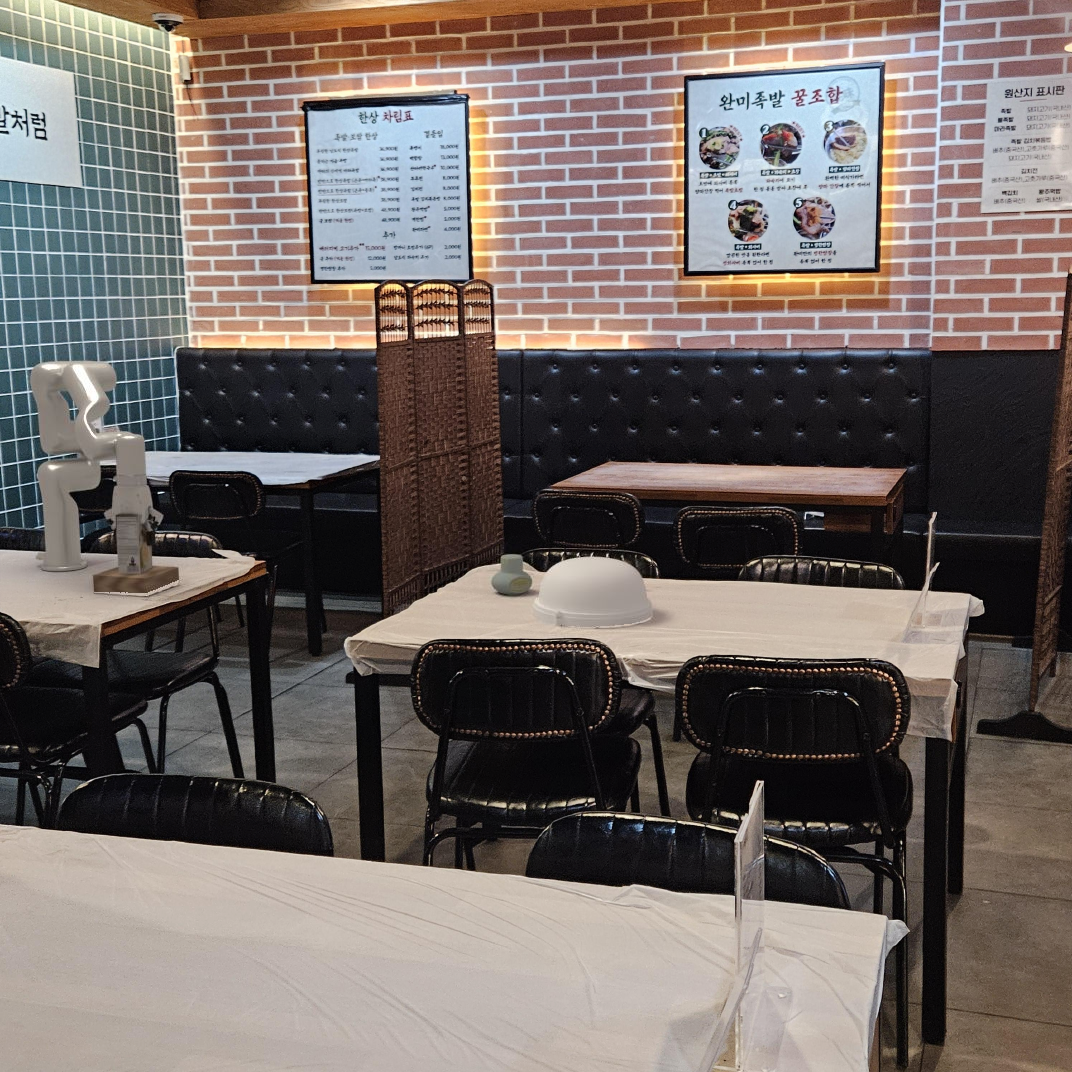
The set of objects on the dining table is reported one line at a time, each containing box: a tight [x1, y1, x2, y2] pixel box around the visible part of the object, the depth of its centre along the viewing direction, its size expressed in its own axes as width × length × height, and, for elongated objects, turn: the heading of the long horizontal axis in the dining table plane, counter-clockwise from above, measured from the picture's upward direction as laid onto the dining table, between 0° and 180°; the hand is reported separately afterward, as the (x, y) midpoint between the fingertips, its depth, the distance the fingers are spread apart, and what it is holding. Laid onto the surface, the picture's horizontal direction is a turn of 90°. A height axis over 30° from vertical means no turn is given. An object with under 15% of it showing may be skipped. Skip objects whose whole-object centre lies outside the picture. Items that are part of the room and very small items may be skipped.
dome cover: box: [532, 556, 654, 627], centre depth 328 cm, size 32×30×14 cm
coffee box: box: [115, 514, 154, 574], centre depth 354 cm, size 9×6×16 cm
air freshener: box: [490, 553, 533, 596], centre depth 352 cm, size 11×8×10 cm
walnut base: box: [92, 565, 180, 593], centre depth 356 cm, size 16×16×5 cm
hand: (134, 544), depth 354 cm, fingers open, 9 cm apart
